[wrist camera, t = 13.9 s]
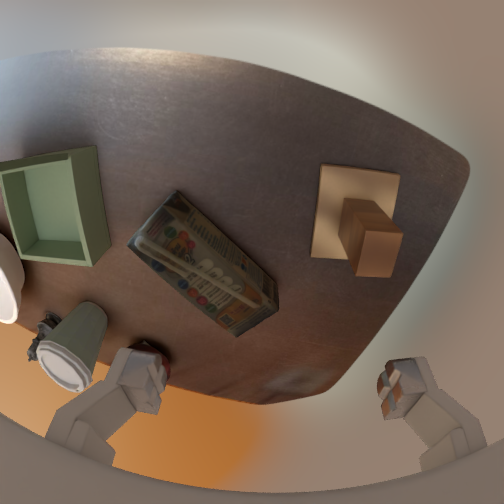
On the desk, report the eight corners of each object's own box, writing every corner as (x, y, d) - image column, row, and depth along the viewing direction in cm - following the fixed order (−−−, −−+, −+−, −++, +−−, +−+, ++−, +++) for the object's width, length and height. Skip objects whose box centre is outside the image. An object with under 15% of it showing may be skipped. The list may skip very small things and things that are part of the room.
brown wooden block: (343, 197, 32) (366, 230, 24) (374, 200, 32) (403, 233, 24) (337, 235, 35) (355, 276, 27) (366, 237, 34) (390, 277, 27)
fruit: (140, 326, 46) (121, 369, 38) (183, 355, 49) (171, 399, 41) (121, 346, 50) (103, 385, 41) (160, 371, 53) (147, 411, 44)
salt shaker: (68, 335, 50) (44, 375, 40) (49, 327, 50) (24, 365, 40) (62, 315, 48) (33, 357, 37) (42, 308, 47) (13, 346, 37)
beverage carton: (177, 184, 34) (159, 203, 28) (281, 283, 40) (283, 314, 34) (141, 225, 37) (121, 249, 31) (240, 311, 43) (236, 343, 37)
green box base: (111, 245, 38) (92, 267, 33) (40, 241, 39) (20, 259, 34) (96, 145, 31) (70, 155, 26) (22, 158, 32) (-3, 169, 26)
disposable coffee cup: (63, 300, 45) (23, 355, 32) (91, 282, 42) (46, 344, 29) (98, 339, 50) (67, 396, 37) (130, 326, 47) (99, 393, 34)
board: (320, 163, 31) (322, 165, 30) (397, 173, 31) (400, 175, 30) (309, 253, 37) (310, 257, 36) (378, 257, 37) (381, 261, 36)
